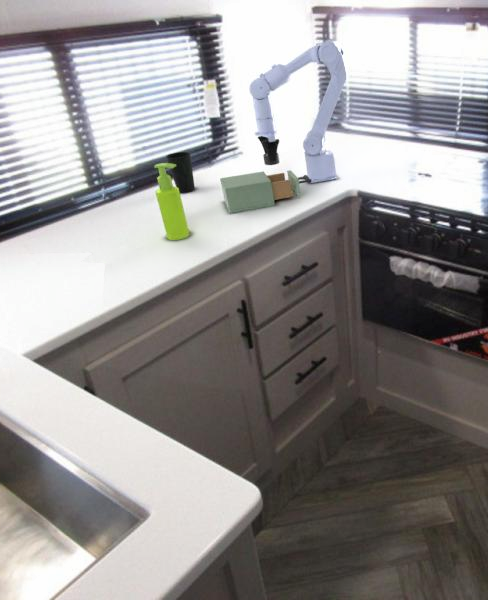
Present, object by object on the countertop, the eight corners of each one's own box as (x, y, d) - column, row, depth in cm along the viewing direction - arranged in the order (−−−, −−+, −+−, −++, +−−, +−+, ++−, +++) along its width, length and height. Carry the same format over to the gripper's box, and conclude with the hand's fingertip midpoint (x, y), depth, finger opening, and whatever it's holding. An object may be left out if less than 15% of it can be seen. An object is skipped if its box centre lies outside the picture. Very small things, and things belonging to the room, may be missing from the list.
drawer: (306, 185, 187) (304, 168, 184) (315, 194, 179) (312, 176, 176) (255, 194, 182) (251, 176, 179) (261, 204, 174) (258, 185, 171)
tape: (277, 160, 196) (276, 151, 194) (281, 163, 192) (279, 154, 190) (263, 162, 194) (261, 153, 193) (266, 166, 190) (264, 157, 189)
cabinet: (267, 194, 184) (263, 171, 180) (274, 205, 175) (271, 181, 171) (224, 201, 180) (219, 178, 176) (230, 213, 171) (225, 188, 167)
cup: (201, 186, 196) (193, 151, 190) (192, 193, 189) (184, 157, 183) (180, 187, 197) (171, 152, 191) (170, 194, 190) (161, 158, 184)
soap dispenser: (186, 240, 154) (168, 167, 144) (163, 239, 155) (144, 167, 145) (196, 232, 159) (180, 160, 149) (174, 231, 160) (156, 160, 150)
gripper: (248, 115, 191) (255, 155, 197) (256, 123, 179) (263, 166, 185) (269, 112, 193) (275, 152, 199) (278, 120, 181) (285, 162, 187)
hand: (271, 159), depth 192 cm, fingers closed on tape, 5 cm apart
